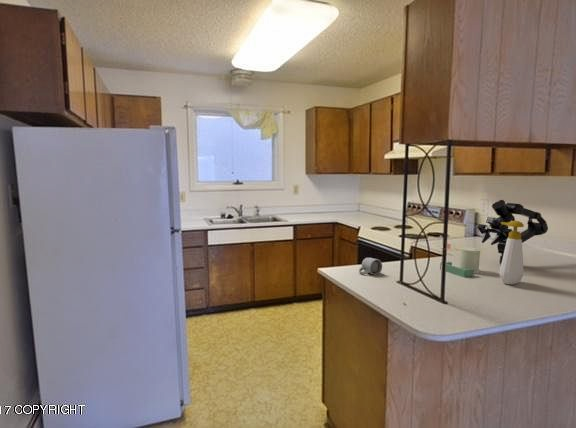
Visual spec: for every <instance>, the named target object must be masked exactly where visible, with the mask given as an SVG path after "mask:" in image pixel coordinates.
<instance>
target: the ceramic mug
mask: <svg viewBox="0 0 576 428" xmlns="http://www.w3.org/2000/svg"><path fill="white" fill-rule="evenodd" d="M382 270H383V263H382V261H381V260H380V259H378V258H373V257H365V258H364V259H363V260H362V261H361V267H360V268H359V269H358V273H359V275H367V274H371V275H374V276H377V275H379V274H380V273H381V272H382Z"/></svg>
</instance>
